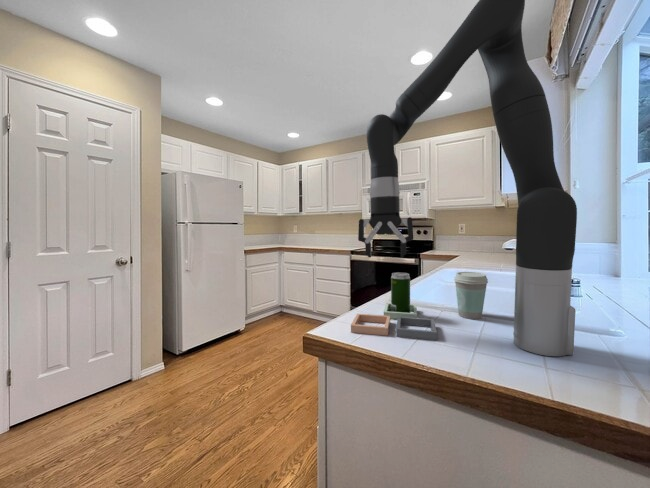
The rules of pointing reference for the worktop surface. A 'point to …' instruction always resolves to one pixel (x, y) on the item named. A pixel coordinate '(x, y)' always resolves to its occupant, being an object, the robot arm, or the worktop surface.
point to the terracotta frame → (371, 329)
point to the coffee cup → (470, 293)
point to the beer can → (400, 292)
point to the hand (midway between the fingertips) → (385, 257)
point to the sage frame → (400, 314)
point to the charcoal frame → (413, 332)
